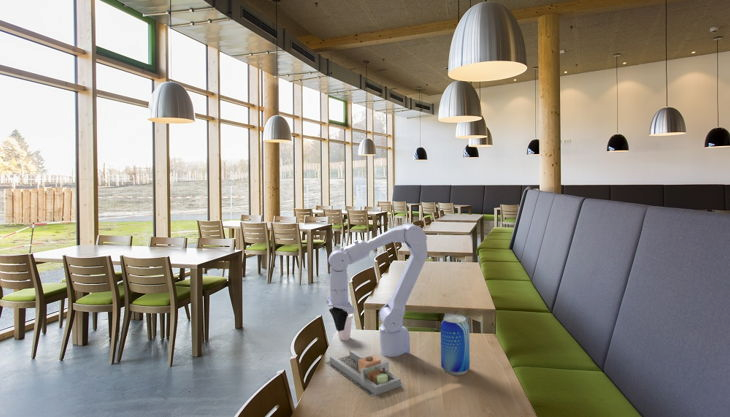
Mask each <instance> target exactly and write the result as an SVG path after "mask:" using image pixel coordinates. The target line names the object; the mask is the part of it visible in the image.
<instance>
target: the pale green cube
mask: <svg viewBox="0 0 730 417" xmlns="http://www.w3.org/2000/svg"><path fill="white" fill-rule="evenodd" d="M385 382H388V376H387V374H384V373H381V374H378V375H377V385H379V384H382V383H385Z"/></svg>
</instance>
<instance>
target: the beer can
mask: <svg viewBox="0 0 730 417" xmlns="http://www.w3.org/2000/svg"><path fill="white" fill-rule="evenodd" d="M470 352H471V351H470V325H469V323H468V321H467V318H466V317H465V316H463V315H460V314H459V315H458V314H449V315H446V316H444V317H443V320H442V322H441V324H440V361H441V362H440V367H441V369H442V370H443V371H444V372H445V373H446V374H448V375H451V376H463V375H465V374H467V373H468V371H469V369H470V365H471V364H470V359H471V357H470V356H471V355H470Z"/></svg>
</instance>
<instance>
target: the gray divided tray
mask: <svg viewBox="0 0 730 417" xmlns="http://www.w3.org/2000/svg"><path fill="white" fill-rule="evenodd" d="M362 358H365V356H363V355H361V354H360V353H358V352H357V351H355V350H353V349H352V350H349V356H345V357H341V359H340V358H337V357H336V356H335V355H330V356H329V362H325V363H326V365H329V367H330V368H331V369H333V370H335V372H338V371H340V372H339V375H341V376H343V377H344V378H346V379H348V381H349V382H351V383H352V384H354V386H357V387H358V388H359V389H361V390H362V391H363V392H364V393H366V394H367V395H369V396H370V397H371V398H372V397H375V396H377V395H378V396H379V395H381V394H384V393H386V392H389V391H392V390H394V389H396V388H400V387H402V386H405V384H404V383H403V382H401V380H402V379H401V378H400V377H398V376H396V375H395V374H393V373H391V372H390V371H389V372H387V373H385V374H387V376H388V382H385V383H382V384H379V385H376V384H375V383H373V382H372V381H370V380H369V379H366V380H364V387H363V386H362V385H361V374H360V373H359V367H358V360H359V359H362ZM350 359H351V360H350ZM381 373H382V368H381Z"/></svg>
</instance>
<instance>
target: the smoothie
mask: <svg viewBox="0 0 730 417" xmlns="http://www.w3.org/2000/svg"><path fill="white" fill-rule="evenodd" d="M353 316H354V315H353V313H352V314H349V315H348V317H347V319H346V323H345V328H344V330H343V331H337V336H338V340H340V341H348V340H350V339H351V331H352V322H353V320H352V319H353Z"/></svg>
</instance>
